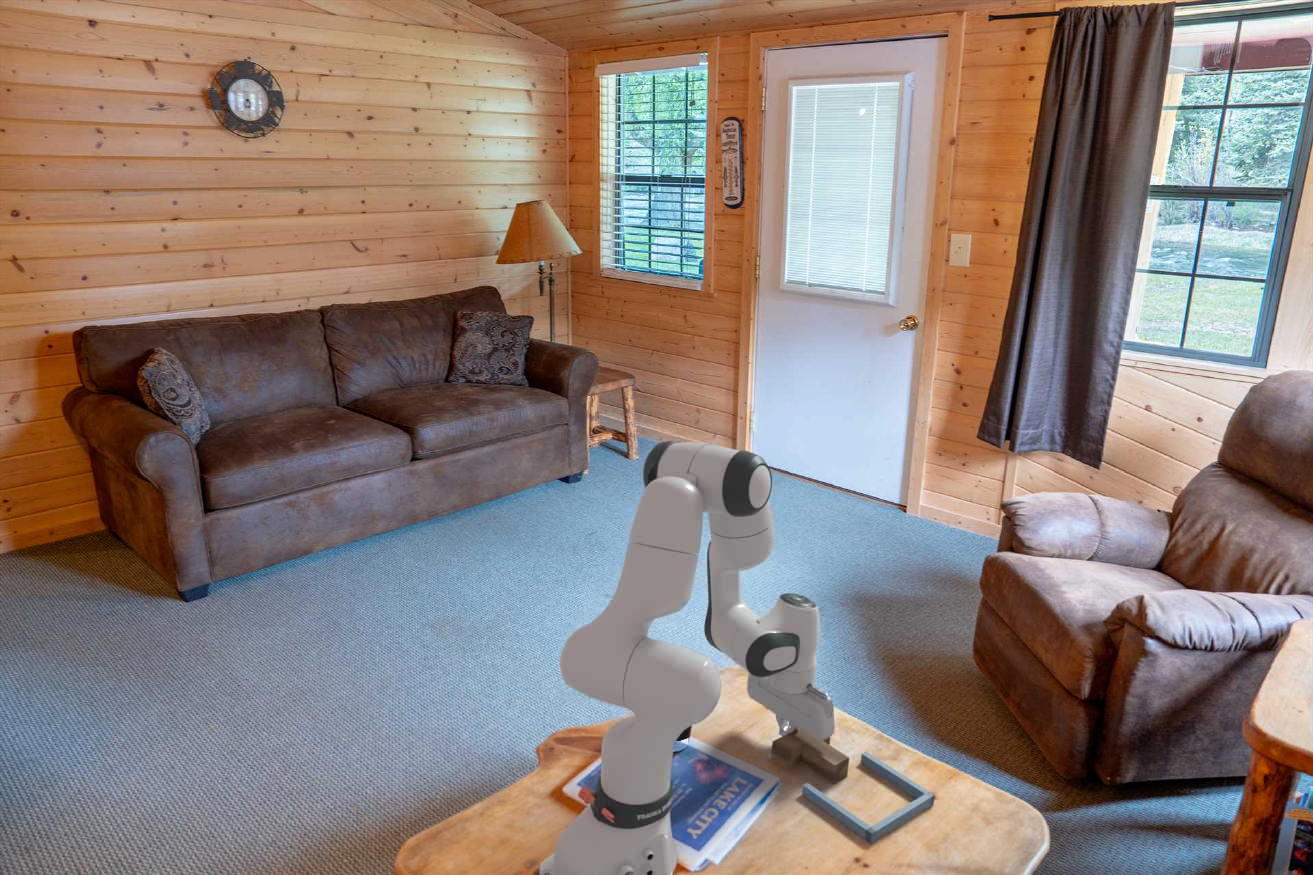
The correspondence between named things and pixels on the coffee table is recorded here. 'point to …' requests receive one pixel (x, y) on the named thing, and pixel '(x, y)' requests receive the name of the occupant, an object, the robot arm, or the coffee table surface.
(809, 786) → the slate bay
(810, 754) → the walnut T block
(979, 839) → the coffee table surface
